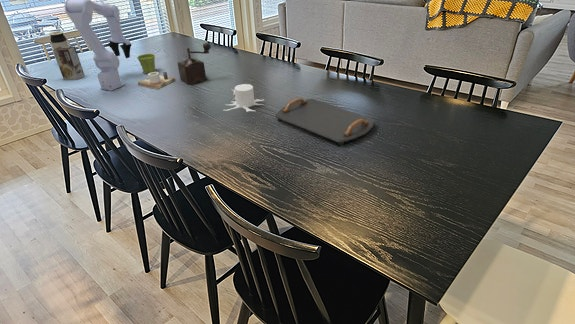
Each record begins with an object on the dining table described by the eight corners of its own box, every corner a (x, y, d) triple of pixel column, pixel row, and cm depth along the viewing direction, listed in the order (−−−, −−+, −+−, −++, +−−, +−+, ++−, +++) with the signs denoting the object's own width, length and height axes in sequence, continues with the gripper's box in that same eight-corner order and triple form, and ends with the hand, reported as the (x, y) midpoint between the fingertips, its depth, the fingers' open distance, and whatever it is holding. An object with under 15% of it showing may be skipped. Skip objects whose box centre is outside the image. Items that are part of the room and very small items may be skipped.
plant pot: (155, 74, 206) (151, 58, 202) (138, 74, 207) (134, 59, 202) (160, 68, 214) (157, 53, 210) (144, 69, 215) (140, 54, 210)
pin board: (156, 89, 187) (154, 79, 185) (138, 85, 193) (135, 75, 190) (175, 80, 197) (173, 71, 194) (156, 77, 202) (154, 68, 200)
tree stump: (242, 93, 181) (241, 76, 176) (275, 101, 171) (274, 84, 167) (212, 108, 167) (210, 90, 163) (246, 118, 157) (244, 100, 153)
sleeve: (162, 82, 191) (160, 72, 188) (155, 85, 187) (153, 76, 185) (155, 81, 193) (153, 71, 191) (148, 84, 190) (145, 74, 187)
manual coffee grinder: (189, 85, 190) (182, 49, 181) (179, 79, 198) (173, 45, 188) (216, 78, 198) (211, 43, 189) (206, 73, 206) (201, 39, 196)
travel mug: (69, 65, 226) (59, 34, 216) (56, 65, 226) (45, 34, 216) (76, 60, 233) (66, 30, 223) (63, 61, 233) (53, 31, 223)
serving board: (269, 120, 155) (268, 106, 152) (306, 102, 169) (306, 89, 166) (345, 151, 132) (346, 136, 129) (381, 128, 146) (383, 113, 143)
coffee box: (85, 75, 209) (75, 46, 200) (78, 79, 203) (68, 49, 195) (69, 75, 210) (59, 46, 201) (62, 79, 204) (51, 49, 196)
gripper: (131, 29, 193) (138, 56, 200) (112, 27, 199) (119, 53, 206) (120, 33, 188) (128, 60, 195) (101, 30, 194) (108, 56, 201)
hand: (122, 56), depth 200 cm, fingers open, 7 cm apart
